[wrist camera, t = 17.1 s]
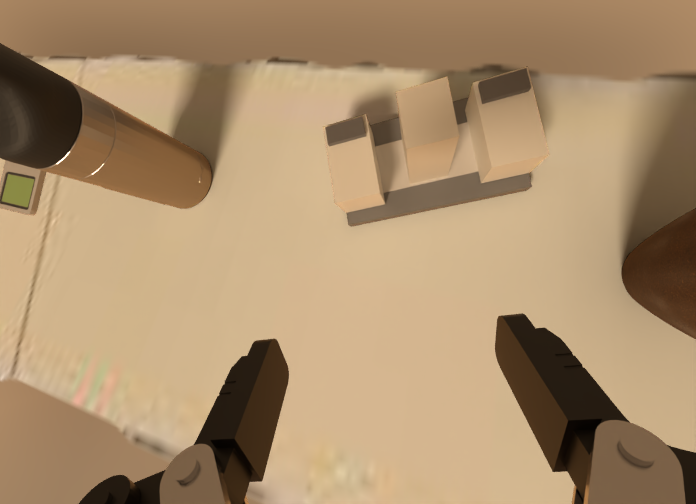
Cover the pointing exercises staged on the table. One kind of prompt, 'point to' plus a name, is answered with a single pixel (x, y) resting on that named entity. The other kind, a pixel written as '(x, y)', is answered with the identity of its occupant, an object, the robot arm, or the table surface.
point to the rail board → (468, 161)
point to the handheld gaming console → (21, 188)
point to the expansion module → (427, 129)
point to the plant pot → (666, 274)
